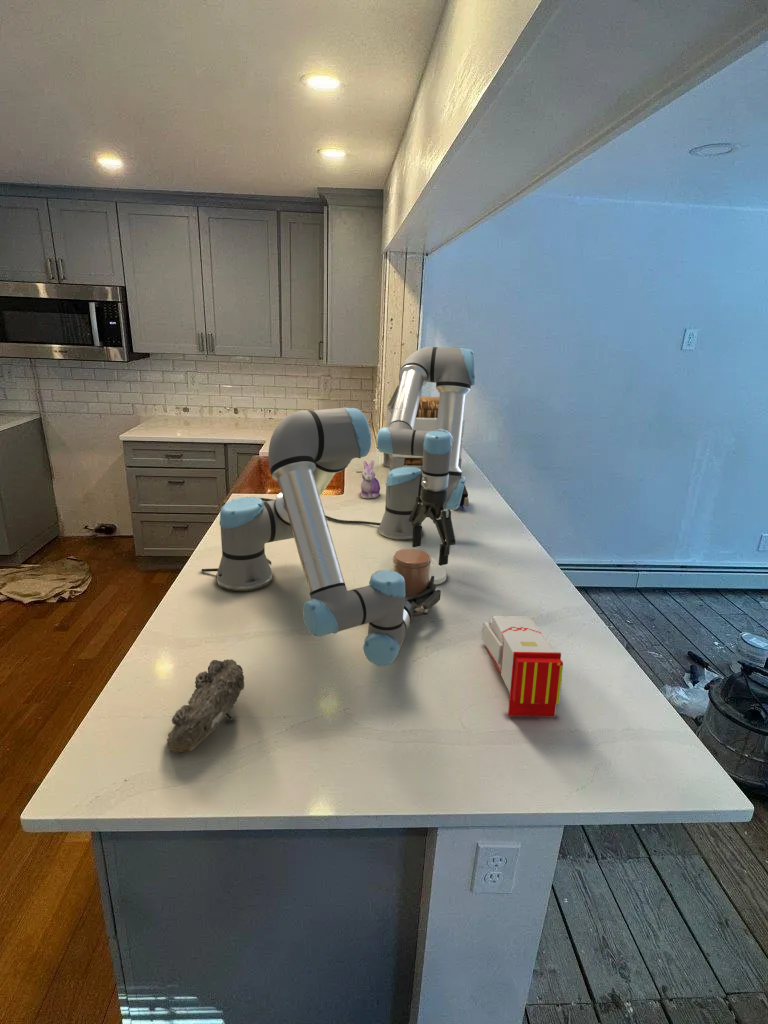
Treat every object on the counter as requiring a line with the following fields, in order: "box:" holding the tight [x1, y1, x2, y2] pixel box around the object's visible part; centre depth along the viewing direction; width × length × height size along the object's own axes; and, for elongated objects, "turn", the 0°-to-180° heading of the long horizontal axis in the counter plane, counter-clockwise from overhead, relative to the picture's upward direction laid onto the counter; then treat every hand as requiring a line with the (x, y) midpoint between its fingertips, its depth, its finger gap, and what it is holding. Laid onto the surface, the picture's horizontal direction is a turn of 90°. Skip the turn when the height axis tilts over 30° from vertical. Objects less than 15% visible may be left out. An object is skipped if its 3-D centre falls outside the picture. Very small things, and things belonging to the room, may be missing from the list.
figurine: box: [360, 460, 381, 499], centre depth 236 cm, size 9×10×15 cm
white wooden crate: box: [383, 384, 465, 472], centre depth 268 cm, size 34×33×41 cm
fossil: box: [166, 658, 245, 754], centre depth 106 cm, size 22×10×15 cm
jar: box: [391, 548, 432, 616], centre depth 149 cm, size 10×10×15 cm
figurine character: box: [455, 484, 470, 511], centre depth 230 cm, size 7×8×15 cm
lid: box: [429, 563, 447, 586], centre depth 169 cm, size 11×11×2 cm
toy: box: [481, 615, 564, 718], centre depth 123 cm, size 12×13×30 cm
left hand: (413, 577), depth 154 cm, fingers closed on jar, 10 cm apart
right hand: (429, 555), depth 168 cm, fingers open, 13 cm apart
